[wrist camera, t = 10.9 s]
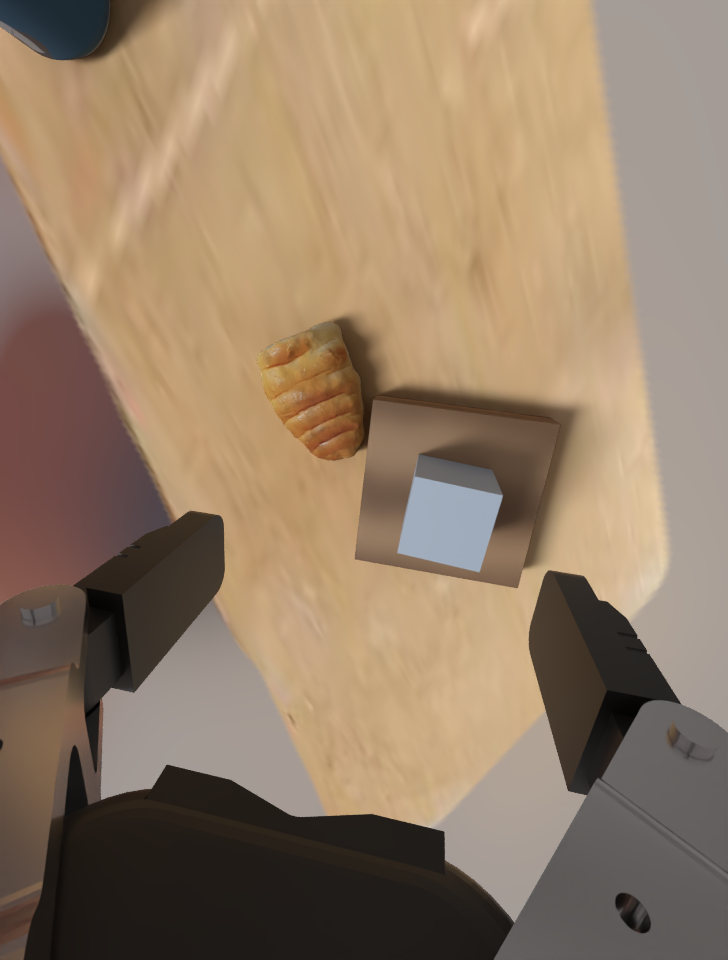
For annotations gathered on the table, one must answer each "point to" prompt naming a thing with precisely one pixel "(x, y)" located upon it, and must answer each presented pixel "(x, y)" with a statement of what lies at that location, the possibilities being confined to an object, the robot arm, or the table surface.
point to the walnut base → (464, 439)
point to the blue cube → (450, 513)
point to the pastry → (316, 390)
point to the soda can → (57, 25)
